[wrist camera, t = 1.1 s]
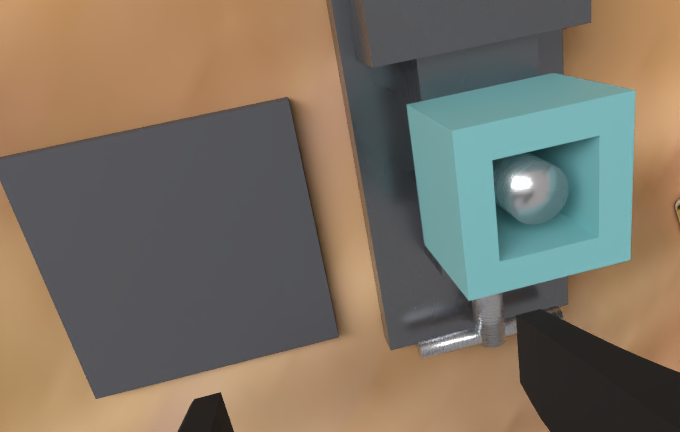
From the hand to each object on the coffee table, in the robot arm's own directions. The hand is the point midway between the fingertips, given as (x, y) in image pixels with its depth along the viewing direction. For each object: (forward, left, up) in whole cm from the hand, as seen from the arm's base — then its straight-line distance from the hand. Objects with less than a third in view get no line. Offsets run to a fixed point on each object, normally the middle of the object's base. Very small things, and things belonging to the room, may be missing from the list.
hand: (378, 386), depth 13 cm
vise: (+2, -6, -10) cm, 11 cm away
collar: (+2, -6, -7) cm, 9 cm away
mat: (0, +5, -10) cm, 11 cm away
